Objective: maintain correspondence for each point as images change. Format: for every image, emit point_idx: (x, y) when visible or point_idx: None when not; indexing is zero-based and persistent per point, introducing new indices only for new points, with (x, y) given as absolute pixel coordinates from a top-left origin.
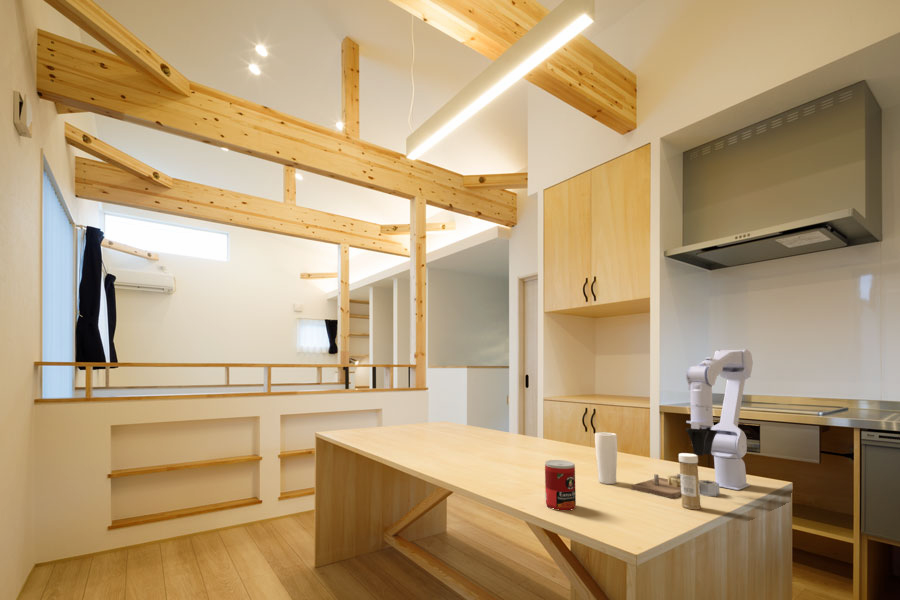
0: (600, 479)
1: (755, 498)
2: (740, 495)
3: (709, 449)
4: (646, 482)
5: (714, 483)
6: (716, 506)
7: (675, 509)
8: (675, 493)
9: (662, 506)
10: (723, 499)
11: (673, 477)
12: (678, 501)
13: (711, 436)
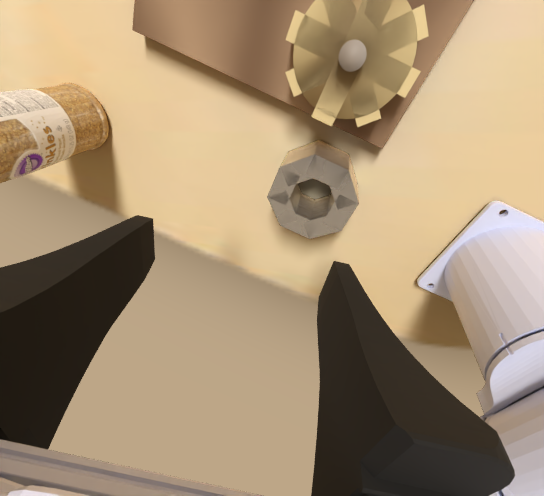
0: None
1: None
2: None
3: (321, 325)
4: None
5: (302, 223)
6: (158, 193)
7: (16, 61)
8: (167, 46)
9: (5, 2)
10: (260, 221)
11: (349, 13)
12: (123, 64)
13: (319, 441)
